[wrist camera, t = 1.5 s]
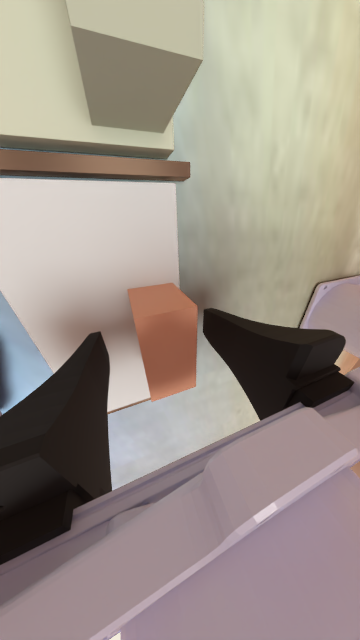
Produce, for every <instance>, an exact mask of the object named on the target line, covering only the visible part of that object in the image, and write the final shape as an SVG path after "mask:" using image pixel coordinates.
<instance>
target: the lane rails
mask: <svg viewBox="0 0 360 640" xmlns="http://www.w3.org/2000/svg"><path fill="white" fill-rule="evenodd" d="M0 175H12V176H42V177H72V178H102V179H132V180H162V181H185V180H186V179H188V178H189V177H190V162H180V161H165V160H151V159H136V158H122V157H107V156H93V155H78V154H64V153H49V152H35V151H20V150H6V149H0ZM148 400H151V397H150V398H148V399H145V400H142V401H139V402H136V403H133V404H130V405H127V406H124V407H121V408H118V409H115V410H112V411H109V412H107V414H110V413H113V412H116V411H119V410H121V409H124V408H127V407H130V406H133V405H136V404H139V403H142V402H145V401H148Z"/></svg>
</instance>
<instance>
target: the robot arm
mask: <svg viewBox="0 0 360 640" xmlns="http://www.w3.org/2000/svg"><path fill="white" fill-rule="evenodd" d="M203 333H204V335H205V337H206V338H207V340H208V342H209V343H210V344H211V345H212V347H213V348H214V349H215V350H216V352H217V353H218V354H219V355H220V356H221V358H222V359H223V360H224V361H225V363H226V364H227V365H228V366H229V368H230V369H231V371H232V372H233V374H234V375H235V377H236V378H237V380H238V382H239V383H240V385H241V387H242V388H243V390H244V391H245V393H246V395H247V397H248V399H249V400H250V402H251V404H252V406H253V408H254V409H255V411H256V413H257V415H258V417H259V419H260V421H259V422H257V423H255V424H253V425H251V426H248V427H246V428H244V429H242V430H240V431H238V432H236V433H234V434H232V435H229V436H227V437H225V438H223V439H221V440H219V441H217V442H215V443H213V444H210V445H208V446H206V447H204V448H202V449H200V450H198V451H196V452H194V453H191V454H189V455H187V456H185V457H183V458H181V459H179V460H177V461H175V462H172V463H170V464H168V465H166V466H164V467H162V468H160V469H158V470H156V471H153V472H151V473H149V474H147V475H145V476H143V477H141V478H139V479H137V480H134V481H132V482H130V483H128V484H126V485H124V486H122V487H120V488H118V489H115V490H113V491H112V484H111V472H110V457H109V440H108V415H107V404H108V390H109V377H110V360H109V354H108V351H107V348H106V345H105V342H104V340H103V337H102V334H101V331H99V332H94V333H90V334H89V335H88V336H87V337H86V339H85V340H84V341H83V342H82V344H81V345H80V346H79V347H78V348H77V350H76V351H75V352H74V353H73V354H72V355H71V357H70V358H69V359H68V360H67V361H66V362H65V363H64V364H63V365H62V366H61V367H60V368H59V369H58V370H57V371H56V372H55V373H54V374H53V375H52V376H51V377H50V378H49V379H48V380H46V381H45V382H44V383H43V384H42V385H41V386H40V387H38V388H37V389H36V390H35V391H33V392H32V393H31V394H30V395H28V396H27V397H26V398H25V399H23V400H22V401H21V402H19V403H18V404H17V405H15V406H14V407H13V408H11V409H10V410H9V411H7V412H6V413H4V414H3V415H1V416H0V640H109V639H111V638H112V637H113V636H115V635H116V634H118V633H119V632H121V640H360V478H359V477H358V476H357V475H356V474H355V473H354V472H353V471H352V470H351V469H350V468H351V467H352V466H353V465H355V464H356V463H358V462H359V461H360V367H359V368H356V369H354V370H352V371H350V372H348V373H347V374H346V375H342V374H341V373H339V372H338V371H340V370H341V369H340V367H338V366H336V365H335V364H334V363H335V362H336V360H337V359H338V357H339V355H340V354H341V352H342V351H343V350H345V351H347V352H349V353H351V354H353V355H354V356H356V357H358V358H360V275H359V276H354V277H349V278H344V279H339V280H334V281H329V282H324V283H320V284H319V285H318V286H317V287H316V289H315V292H314V294H313V296H312V299H311V301H310V304H309V306H308V308H307V311H306V313H305V316H304V318H303V320H302V323H301V325H300V328H290V327H282V326H275V325H269V324H264V323H260V322H255V321H251V320H248V319H244V318H241V317H238V316H235V315H232V314H229V313H226V312H223V311H220V310H217V309H213V308H209V309H204V318H203Z"/></svg>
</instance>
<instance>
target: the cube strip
mask: <svg viewBox="0 0 360 640" xmlns="http://www.w3.org/2000/svg"><path fill="white" fill-rule="evenodd" d="M0 291H1V292H2V294H3V295H4V297H5V298H6V300H7V301H8V303H9V305H10V306H11V308H12V309H13V311H14V312H15V314H16V315H17V317H18V319H19V320H20V322H21V323H22V325H23V326H24V328H25V329H26V331H27V333H28V334H29V336H30V337H31V339H32V340H33V342H34V343H35V345H36V346H37V348H38V350H39V351H40V353H41V354H42V356H43V357H44V359H45V360H46V362H47V364H48V365H49V367H50V368H51V370H52V371H53V373H55V372H56V371H57V370H58V369H59V368H60V367H61V366H62V365H63V364H64V363H65V362H66V361H67V360H68V359H69V358H70V357H71V355H72V354H73V353H74V352H75V351H76V350H77V348H78V347H79V346H80V345H81V344H82V342H83V341H84V340H85V339H86V337H87V336H88V335H89V334H90V333H94V332H99V331H101V334H102V337H103V340H104V342H105V345H106V348H107V351H108V354H109V360H110V377H109V390H108V404H107V412H109V411H112V410H115V409H118V408H121V407H124V406H127V405H130V404H133V403H136V402H139V401H142V400H145V399H148V398H150V397H151V401H152V402H153V401H156V400H159V399H161V398H164V397H167V396H170V395H173V394H176V393H179V392H182V391H184V390H187V389H190V388H193V387H196V354H197V308H198V306H197V305H196V304H195V303H194V302H192V301H191V300H190V299H189V298H188V297H187V296H186V295H185V294H184V293H183V292H182V291H181V290H180V284H179V259H178V234H177V209H176V183H150V182H116V181H81V180H47V179H13V178H0Z"/></svg>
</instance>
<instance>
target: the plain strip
mask: <svg viewBox="0 0 360 640" xmlns="http://www.w3.org/2000/svg"><path fill="white" fill-rule="evenodd" d="M203 31H204V0H0V147H8V148H22V149H36V150H50V151H64V152H78V153H92V154H105V155H119V156H133V157H147V158H161V159H167V158H168V157H169V156H170V154H171V153H172V152H173V151H174V133H173V114H174V113H175V111H176V109H177V107H178V105H179V103H180V101H181V100H182V98H183V96H184V94H185V92H186V90H187V89H188V87H189V85H190V83H191V81H192V79H193V77H194V76H195V74H196V72H197V70H198V68H199V66H200V64H201V63H202V61H203Z"/></svg>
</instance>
